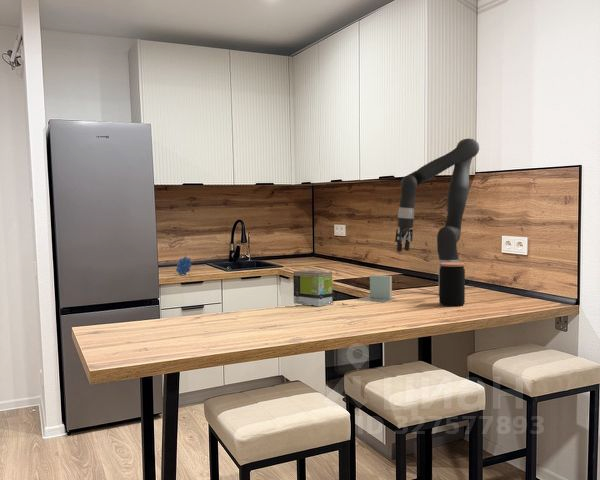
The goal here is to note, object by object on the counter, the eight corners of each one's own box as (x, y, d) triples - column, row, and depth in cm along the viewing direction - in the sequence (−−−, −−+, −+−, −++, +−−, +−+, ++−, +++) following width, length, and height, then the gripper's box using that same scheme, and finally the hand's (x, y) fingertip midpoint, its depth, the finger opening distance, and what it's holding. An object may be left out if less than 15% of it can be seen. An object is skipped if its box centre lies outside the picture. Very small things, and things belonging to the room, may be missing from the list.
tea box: (333, 304, 249) (333, 271, 248) (318, 307, 242) (317, 273, 241) (307, 301, 259) (307, 268, 258) (292, 303, 252) (292, 270, 251)
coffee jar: (466, 303, 247) (466, 262, 246) (462, 307, 238) (462, 264, 237) (441, 302, 252) (441, 262, 251) (437, 305, 242) (437, 264, 241)
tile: (391, 298, 255) (391, 276, 255) (390, 298, 253) (389, 276, 253) (371, 296, 261) (371, 274, 260) (369, 297, 259) (369, 275, 258)
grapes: (187, 273, 380) (187, 256, 380) (193, 274, 376) (193, 256, 375) (172, 275, 372) (172, 257, 372) (178, 276, 367) (178, 257, 367)
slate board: (396, 301, 255) (396, 298, 255) (383, 305, 243) (383, 302, 243) (369, 299, 263) (369, 295, 263) (354, 303, 251) (354, 299, 251)
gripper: (406, 217, 262) (403, 252, 264) (419, 218, 274) (416, 251, 275) (392, 216, 267) (389, 250, 268) (404, 216, 278) (402, 249, 280)
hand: (402, 250), depth 272 cm, fingers open, 8 cm apart
